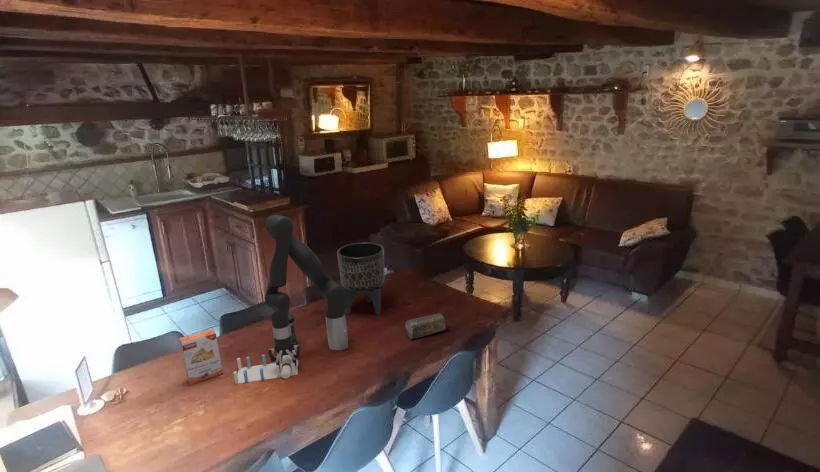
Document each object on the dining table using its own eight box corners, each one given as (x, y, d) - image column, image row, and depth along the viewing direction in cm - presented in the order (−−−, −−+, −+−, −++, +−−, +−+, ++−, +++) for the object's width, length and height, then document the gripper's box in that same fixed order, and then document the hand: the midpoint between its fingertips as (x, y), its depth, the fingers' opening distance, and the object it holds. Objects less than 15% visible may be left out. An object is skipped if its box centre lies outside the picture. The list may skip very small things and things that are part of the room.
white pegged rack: (298, 361, 222) (296, 349, 220) (297, 377, 209) (295, 365, 207) (239, 369, 217) (237, 358, 215) (235, 386, 205) (233, 374, 203)
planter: (349, 299, 283) (344, 241, 272) (391, 299, 279) (387, 242, 268) (337, 319, 259) (331, 257, 248) (382, 320, 255) (378, 258, 244)
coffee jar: (280, 356, 226) (275, 320, 221) (275, 348, 233) (270, 314, 227) (300, 350, 231) (295, 315, 225) (295, 342, 237) (290, 308, 232)
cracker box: (190, 386, 207) (181, 343, 200) (187, 379, 212) (178, 337, 205) (223, 374, 214) (215, 332, 207) (220, 368, 219) (212, 327, 212)
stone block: (404, 335, 242) (414, 342, 233) (403, 319, 240) (412, 326, 231) (438, 323, 250) (449, 331, 242) (437, 308, 248) (447, 315, 239)
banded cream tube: (283, 359, 222) (282, 351, 221) (292, 358, 223) (291, 350, 222) (281, 379, 207) (280, 371, 206) (291, 378, 208) (290, 369, 207)
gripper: (299, 327, 214) (303, 360, 220) (265, 332, 212) (270, 365, 217) (298, 336, 207) (303, 369, 213) (264, 340, 205) (269, 374, 210)
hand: (286, 367), depth 215 cm, fingers open, 6 cm apart
